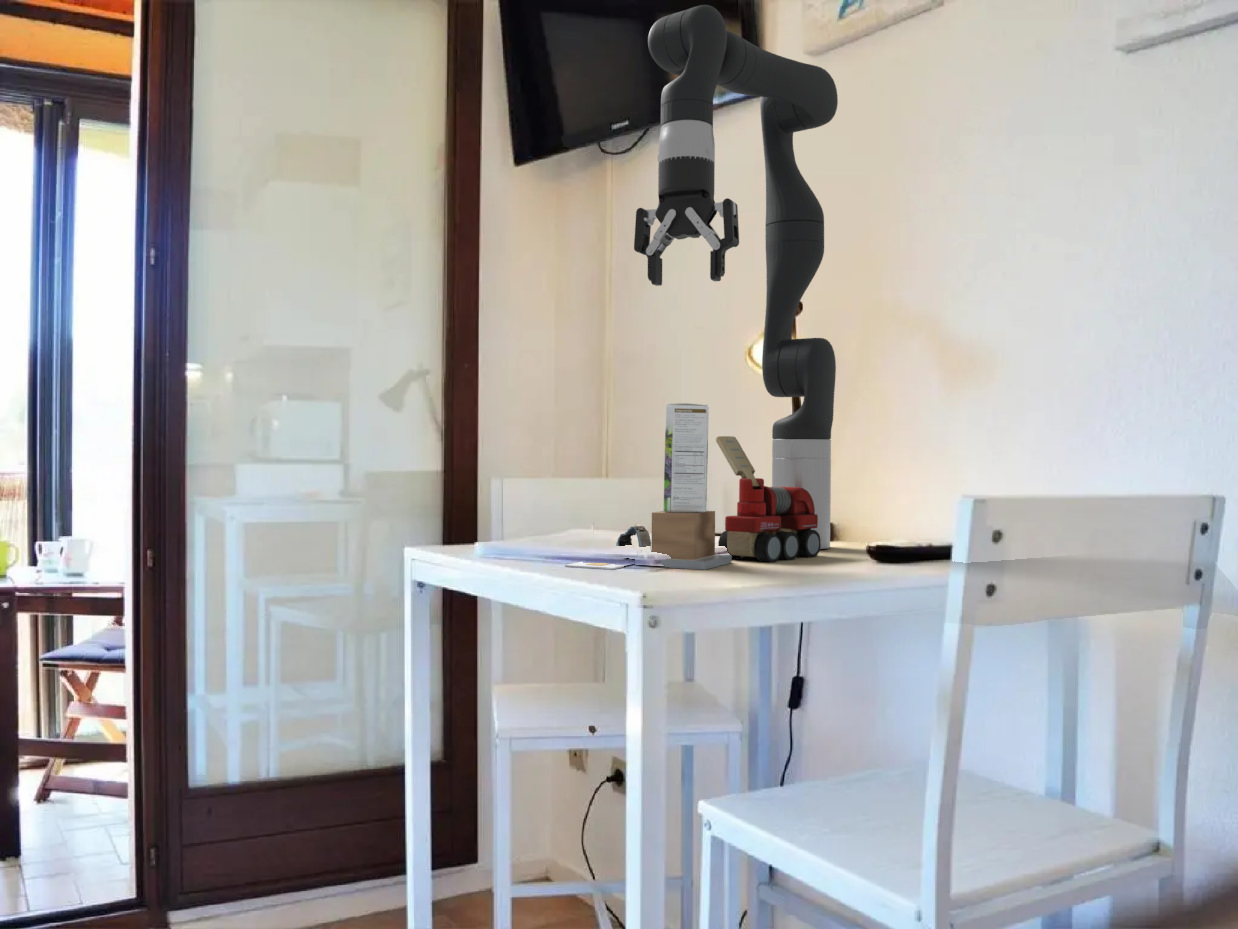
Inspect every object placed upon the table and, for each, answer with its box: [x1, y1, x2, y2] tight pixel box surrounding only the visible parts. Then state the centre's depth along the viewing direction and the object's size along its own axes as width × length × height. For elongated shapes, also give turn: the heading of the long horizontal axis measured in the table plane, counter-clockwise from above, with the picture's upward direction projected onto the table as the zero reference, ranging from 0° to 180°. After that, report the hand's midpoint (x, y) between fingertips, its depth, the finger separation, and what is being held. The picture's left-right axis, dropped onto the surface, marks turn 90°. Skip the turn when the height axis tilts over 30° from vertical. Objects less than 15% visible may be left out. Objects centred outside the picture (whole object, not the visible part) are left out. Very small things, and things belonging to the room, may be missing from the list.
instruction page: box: [564, 561, 625, 570], centre depth 139 cm, size 9×7×1 cm
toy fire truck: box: [715, 435, 821, 563], centre depth 152 cm, size 11×16×18 cm
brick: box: [651, 510, 716, 560], centre depth 141 cm, size 8×6×6 cm
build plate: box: [661, 554, 733, 571], centre depth 141 cm, size 10×10×1 cm
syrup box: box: [663, 402, 710, 512], centre depth 141 cm, size 6×6×14 cm
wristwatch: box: [615, 525, 652, 548], centre depth 147 cm, size 3×5×5 cm
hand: (685, 282), depth 140 cm, fingers open, 8 cm apart
